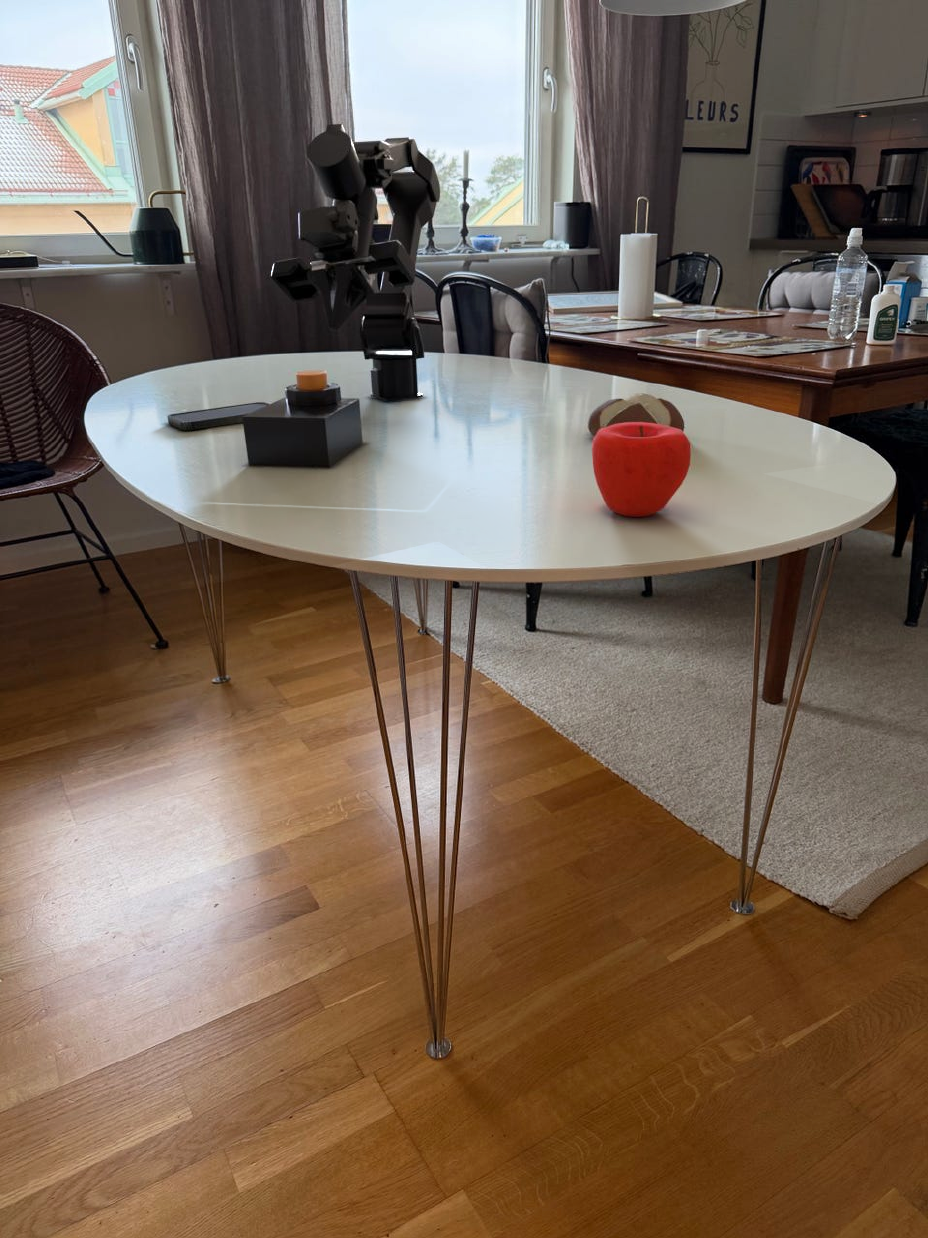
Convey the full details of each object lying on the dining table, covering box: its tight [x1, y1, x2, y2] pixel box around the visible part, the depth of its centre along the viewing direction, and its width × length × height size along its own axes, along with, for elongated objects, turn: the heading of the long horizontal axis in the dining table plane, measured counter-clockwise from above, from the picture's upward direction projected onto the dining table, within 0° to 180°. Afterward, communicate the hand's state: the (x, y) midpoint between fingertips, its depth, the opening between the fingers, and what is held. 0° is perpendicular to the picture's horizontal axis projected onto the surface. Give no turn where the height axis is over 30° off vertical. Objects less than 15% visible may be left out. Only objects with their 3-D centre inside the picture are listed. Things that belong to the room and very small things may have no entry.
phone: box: [166, 401, 270, 431], centre depth 124 cm, size 8×1×15 cm
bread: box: [587, 393, 685, 437], centre depth 106 cm, size 11×11×5 cm
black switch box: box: [242, 381, 364, 469], centre depth 103 cm, size 13×10×8 cm
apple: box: [591, 422, 692, 518], centre depth 78 cm, size 9×9×8 cm
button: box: [295, 370, 328, 390], centre depth 104 cm, size 4×4×2 cm
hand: (332, 328), depth 109 cm, fingers closed
